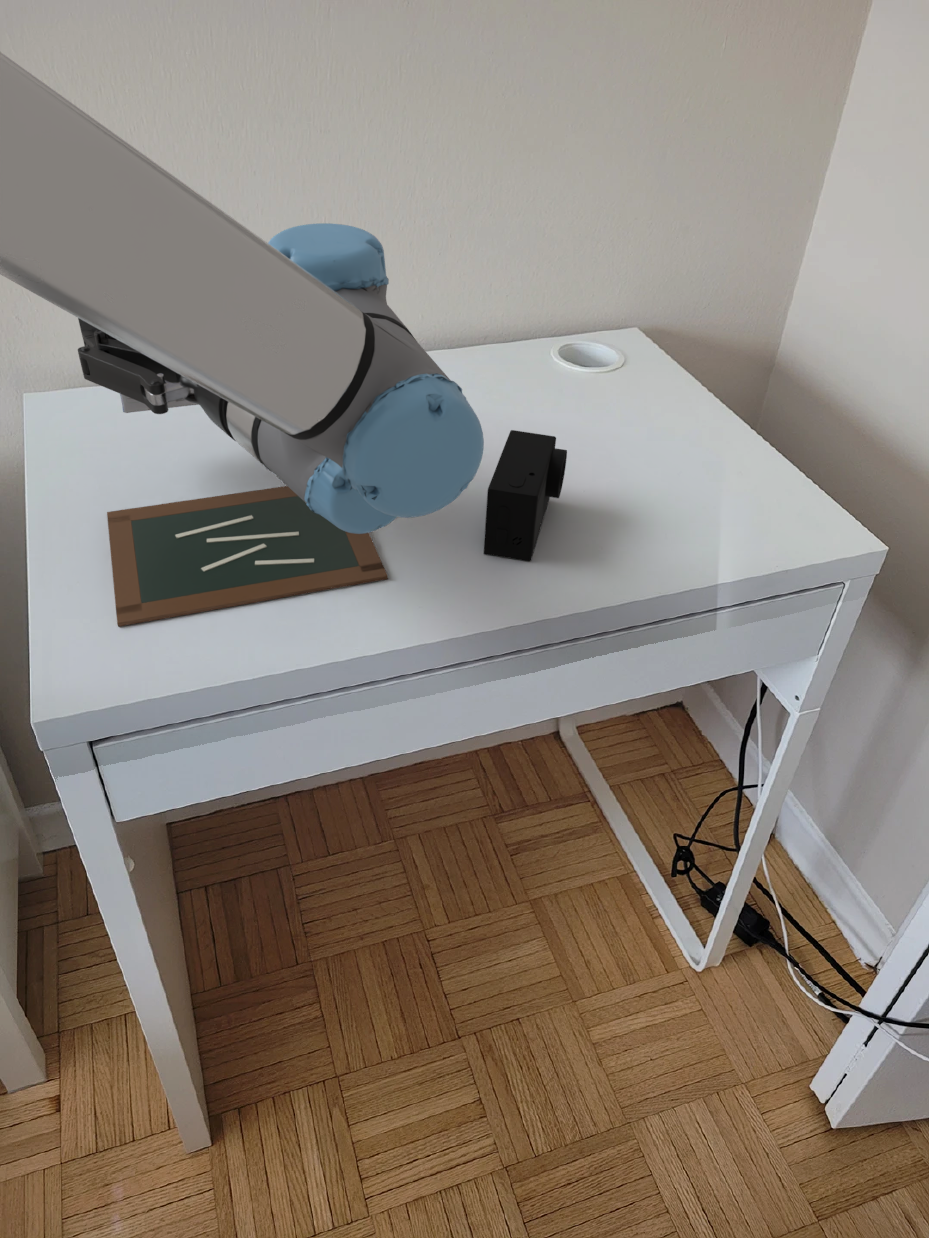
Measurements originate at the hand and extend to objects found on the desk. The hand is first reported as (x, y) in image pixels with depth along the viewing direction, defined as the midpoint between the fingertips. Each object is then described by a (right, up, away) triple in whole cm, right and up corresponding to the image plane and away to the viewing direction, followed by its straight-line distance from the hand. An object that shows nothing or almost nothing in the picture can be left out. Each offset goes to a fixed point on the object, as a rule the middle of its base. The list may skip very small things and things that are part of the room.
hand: (144, 308), depth 86 cm
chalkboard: (+10, -22, -3) cm, 24 cm away
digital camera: (+35, -20, +1) cm, 40 cm away
